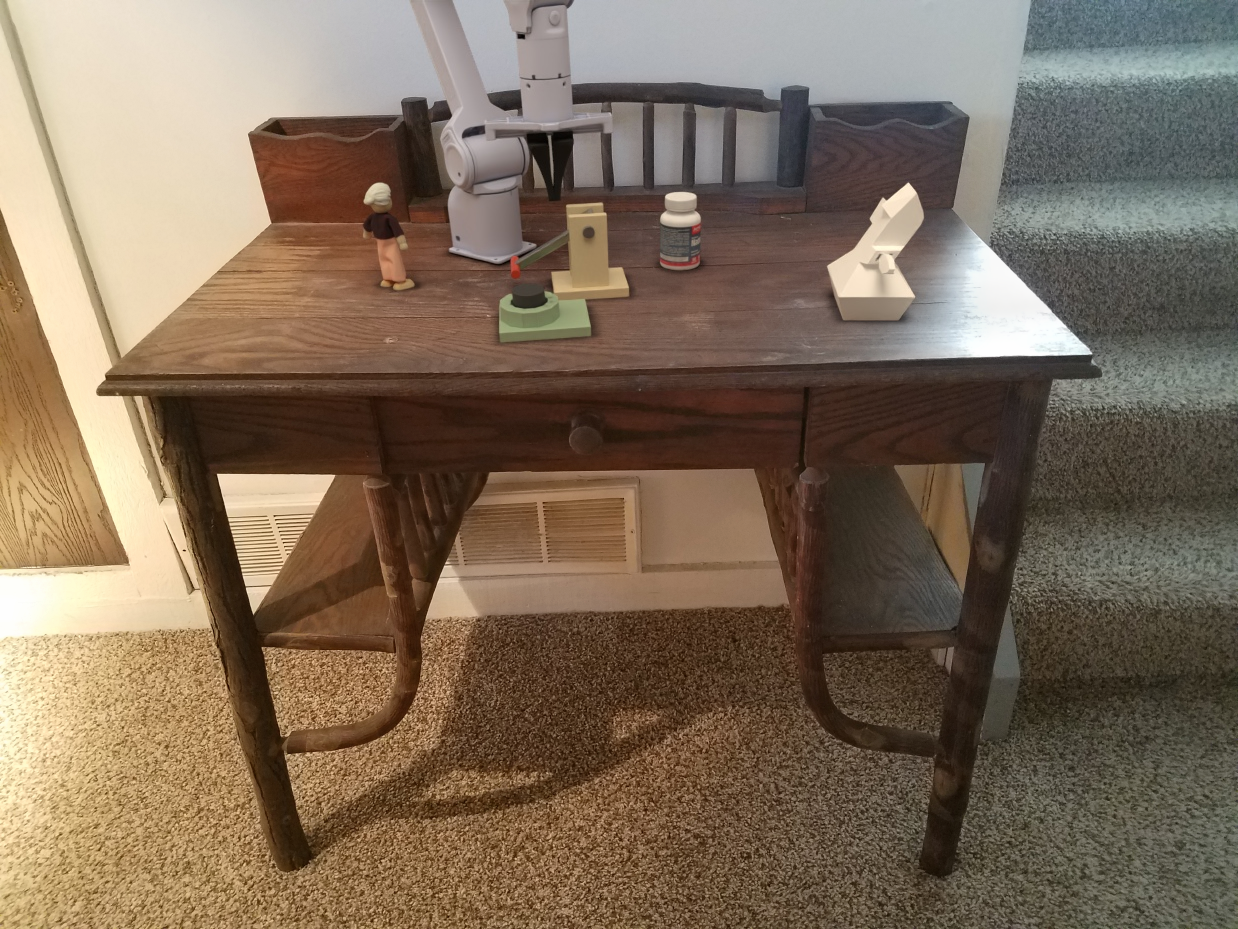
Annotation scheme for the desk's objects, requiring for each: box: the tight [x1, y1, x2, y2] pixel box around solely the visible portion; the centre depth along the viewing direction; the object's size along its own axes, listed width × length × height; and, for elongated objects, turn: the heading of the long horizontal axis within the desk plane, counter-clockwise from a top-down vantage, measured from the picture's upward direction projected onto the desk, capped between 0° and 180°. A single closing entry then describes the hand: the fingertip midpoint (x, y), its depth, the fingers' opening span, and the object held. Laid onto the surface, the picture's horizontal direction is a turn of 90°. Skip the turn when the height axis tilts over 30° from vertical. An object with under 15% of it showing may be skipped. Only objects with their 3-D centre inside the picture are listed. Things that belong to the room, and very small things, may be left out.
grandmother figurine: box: [362, 182, 416, 291], centre depth 107 cm, size 8×4×13 cm, turn 65°
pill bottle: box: [659, 191, 702, 272], centre depth 111 cm, size 5×5×9 cm
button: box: [511, 283, 545, 309], centre depth 97 cm, size 4×4×2 cm
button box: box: [498, 291, 592, 343], centre depth 98 cm, size 10×8×3 cm
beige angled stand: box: [826, 182, 925, 321], centre depth 96 cm, size 8×14×14 cm, turn 176°
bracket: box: [550, 202, 630, 301], centre depth 105 cm, size 9×7×10 cm
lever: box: [510, 208, 594, 280], centre depth 104 cm, size 12×5×2 cm, turn 96°
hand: (554, 198), depth 104 cm, fingers closed
